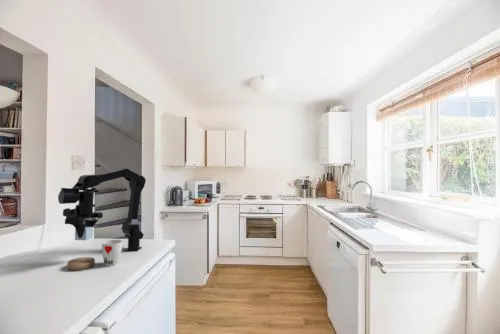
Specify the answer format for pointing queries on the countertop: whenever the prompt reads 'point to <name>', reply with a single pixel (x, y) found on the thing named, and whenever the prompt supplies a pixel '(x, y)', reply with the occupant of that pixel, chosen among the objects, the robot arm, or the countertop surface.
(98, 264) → the countertop surface
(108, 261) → the cup
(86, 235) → the block
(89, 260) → the brown shallow bowl
